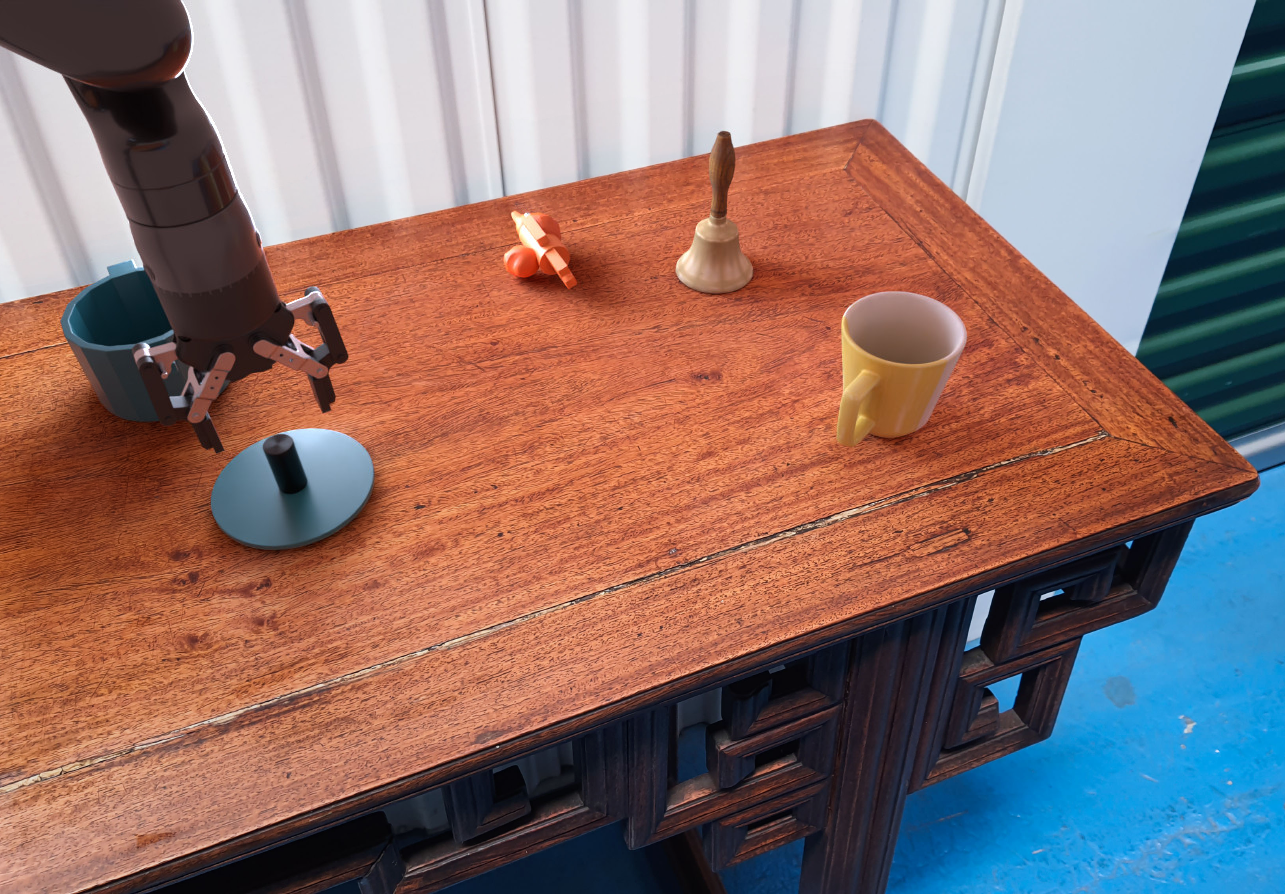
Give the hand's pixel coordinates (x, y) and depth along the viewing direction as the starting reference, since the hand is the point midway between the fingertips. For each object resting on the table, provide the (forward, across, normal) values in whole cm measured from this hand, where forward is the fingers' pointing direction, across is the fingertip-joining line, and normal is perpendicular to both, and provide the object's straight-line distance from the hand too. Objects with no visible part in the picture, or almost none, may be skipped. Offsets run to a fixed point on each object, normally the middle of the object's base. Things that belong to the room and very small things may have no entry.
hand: (271, 425), depth 79 cm
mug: (+8, -47, +19) cm, 51 cm away
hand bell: (+8, -48, -8) cm, 49 cm away
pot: (+8, +6, -21) cm, 23 cm away
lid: (+7, 0, 0) cm, 7 cm away
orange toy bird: (+8, -32, -18) cm, 37 cm away
